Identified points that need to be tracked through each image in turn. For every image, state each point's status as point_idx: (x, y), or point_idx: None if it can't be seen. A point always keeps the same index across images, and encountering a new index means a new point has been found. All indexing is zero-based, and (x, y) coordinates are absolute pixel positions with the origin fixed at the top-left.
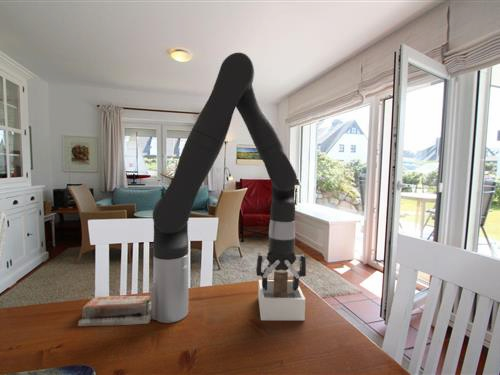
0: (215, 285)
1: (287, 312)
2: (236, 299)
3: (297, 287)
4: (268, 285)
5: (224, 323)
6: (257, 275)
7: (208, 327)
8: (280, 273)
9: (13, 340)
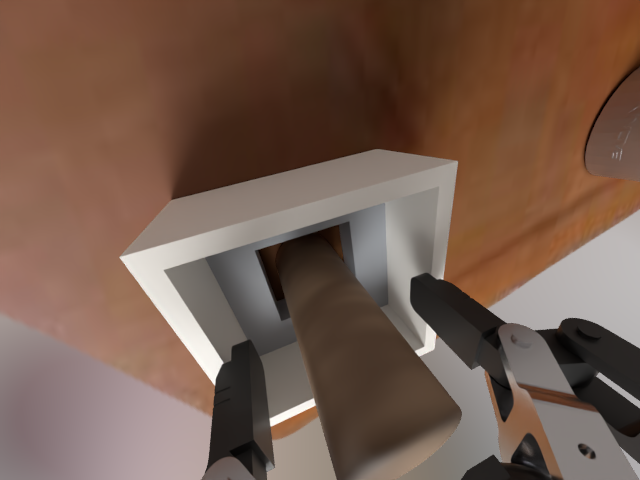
0: (491, 304)
1: (267, 186)
2: (448, 259)
3: (224, 370)
4: None
5: (504, 94)
6: (576, 318)
7: (556, 54)
8: (411, 435)
9: None
